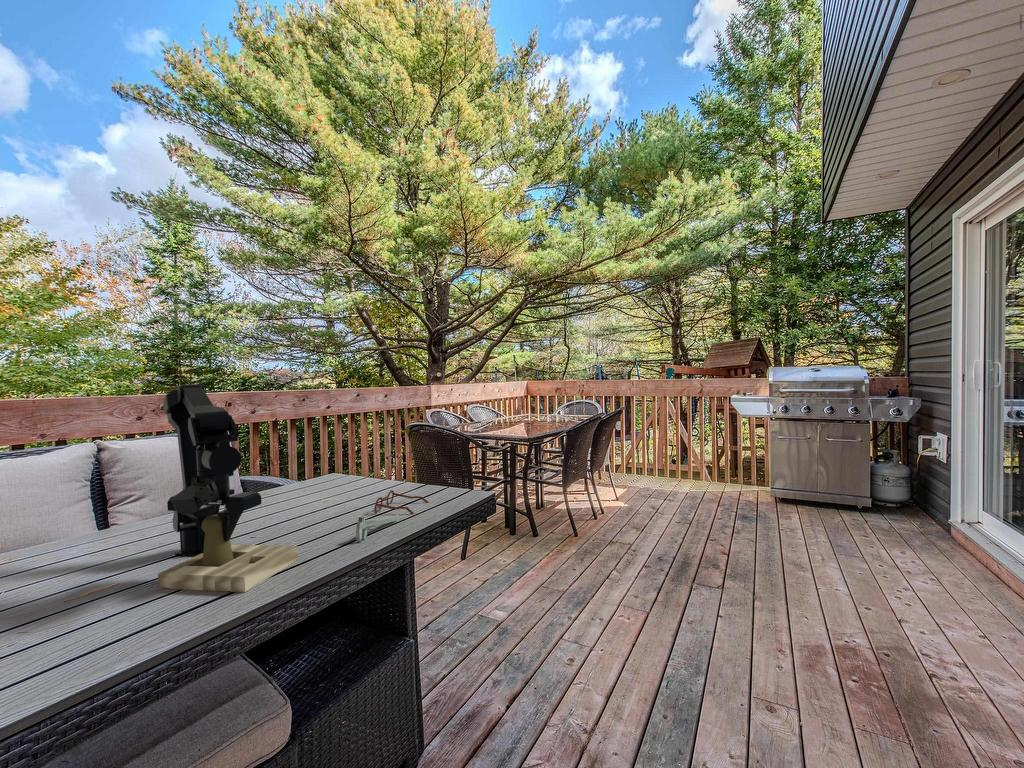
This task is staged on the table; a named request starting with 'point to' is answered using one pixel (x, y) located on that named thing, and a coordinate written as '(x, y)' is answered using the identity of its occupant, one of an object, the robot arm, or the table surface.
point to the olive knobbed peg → (215, 543)
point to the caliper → (371, 525)
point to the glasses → (392, 500)
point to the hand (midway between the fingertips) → (216, 540)
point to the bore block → (230, 569)
